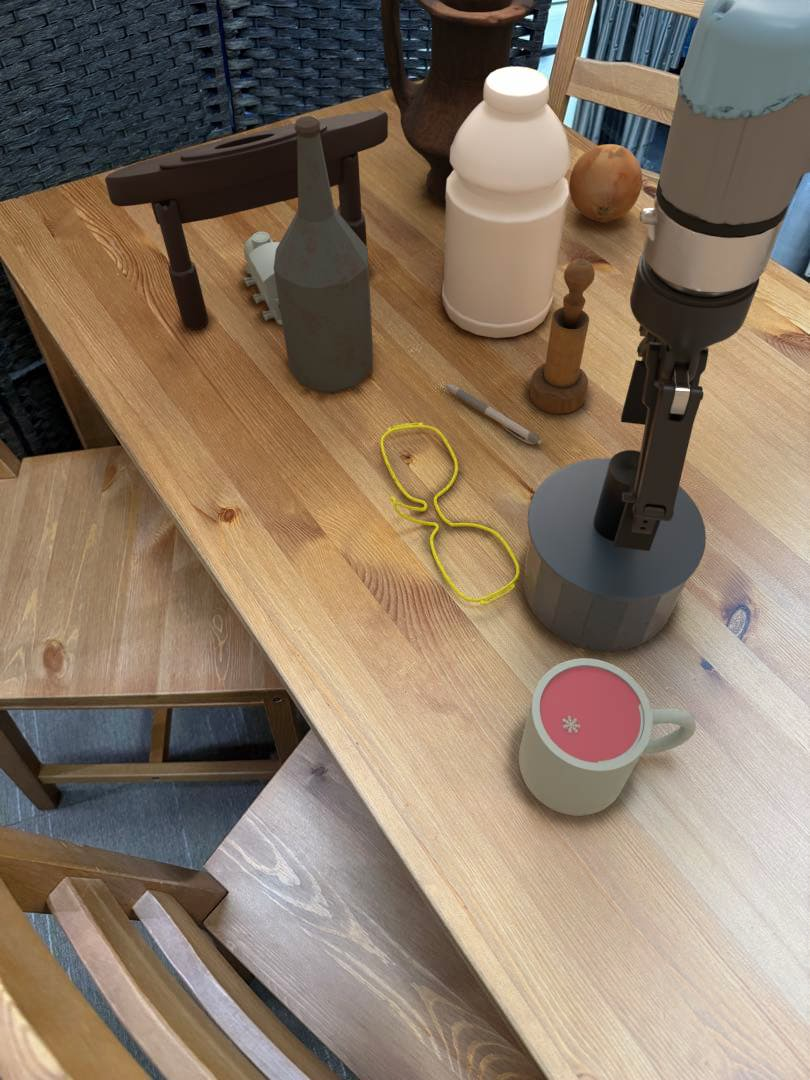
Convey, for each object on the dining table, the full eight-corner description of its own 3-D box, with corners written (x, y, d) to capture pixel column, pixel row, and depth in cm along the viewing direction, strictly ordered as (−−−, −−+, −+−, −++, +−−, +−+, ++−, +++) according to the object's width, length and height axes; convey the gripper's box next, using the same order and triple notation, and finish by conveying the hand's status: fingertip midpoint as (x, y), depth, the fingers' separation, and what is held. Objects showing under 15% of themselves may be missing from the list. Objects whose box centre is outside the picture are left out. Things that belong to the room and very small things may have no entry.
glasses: (533, 592, 83) (538, 565, 80) (440, 625, 81) (441, 599, 77) (433, 421, 97) (433, 390, 93) (351, 445, 95) (349, 415, 91)
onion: (626, 194, 124) (641, 126, 116) (640, 235, 118) (657, 166, 110) (560, 196, 124) (570, 128, 115) (570, 237, 118) (582, 168, 110)
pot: (673, 537, 87) (698, 477, 80) (673, 662, 79) (701, 609, 71) (530, 517, 89) (541, 456, 81) (515, 638, 80) (526, 583, 73)
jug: (536, 160, 129) (564, -72, 105) (518, 230, 119) (544, -9, 94) (401, 144, 132) (397, -84, 108) (371, 212, 122) (360, -25, 97)
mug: (526, 818, 70) (541, 774, 62) (512, 714, 76) (524, 661, 68) (690, 809, 71) (726, 764, 63) (665, 706, 76) (694, 652, 68)
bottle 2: (515, 259, 115) (540, 37, 92) (572, 319, 107) (614, 94, 85) (422, 289, 111) (424, 66, 89) (474, 353, 104) (491, 128, 81)
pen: (537, 451, 94) (539, 442, 93) (441, 392, 100) (442, 383, 99) (543, 446, 95) (544, 437, 94) (447, 387, 100) (447, 378, 99)
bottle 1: (294, 338, 106) (258, 93, 82) (373, 337, 106) (361, 92, 82) (288, 397, 100) (248, 151, 75) (372, 396, 100) (358, 150, 75)
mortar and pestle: (533, 371, 102) (552, 239, 87) (587, 378, 101) (616, 246, 87) (526, 410, 98) (545, 279, 84) (582, 418, 97) (612, 287, 83)
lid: (700, 478, 80) (728, 412, 73) (704, 618, 71) (735, 559, 64) (535, 456, 82) (546, 390, 75) (517, 590, 73) (528, 529, 66)
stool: (85, 134, 94) (361, 73, 102) (135, 291, 111) (368, 228, 119) (117, 209, 86) (415, 136, 94) (166, 366, 103) (415, 293, 111)
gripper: (644, 151, 61) (596, 371, 79) (634, 393, 47) (579, 598, 64) (752, 159, 60) (680, 381, 78) (775, 409, 46) (681, 613, 63)
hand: (634, 479), depth 71 cm, fingers open, 13 cm apart
